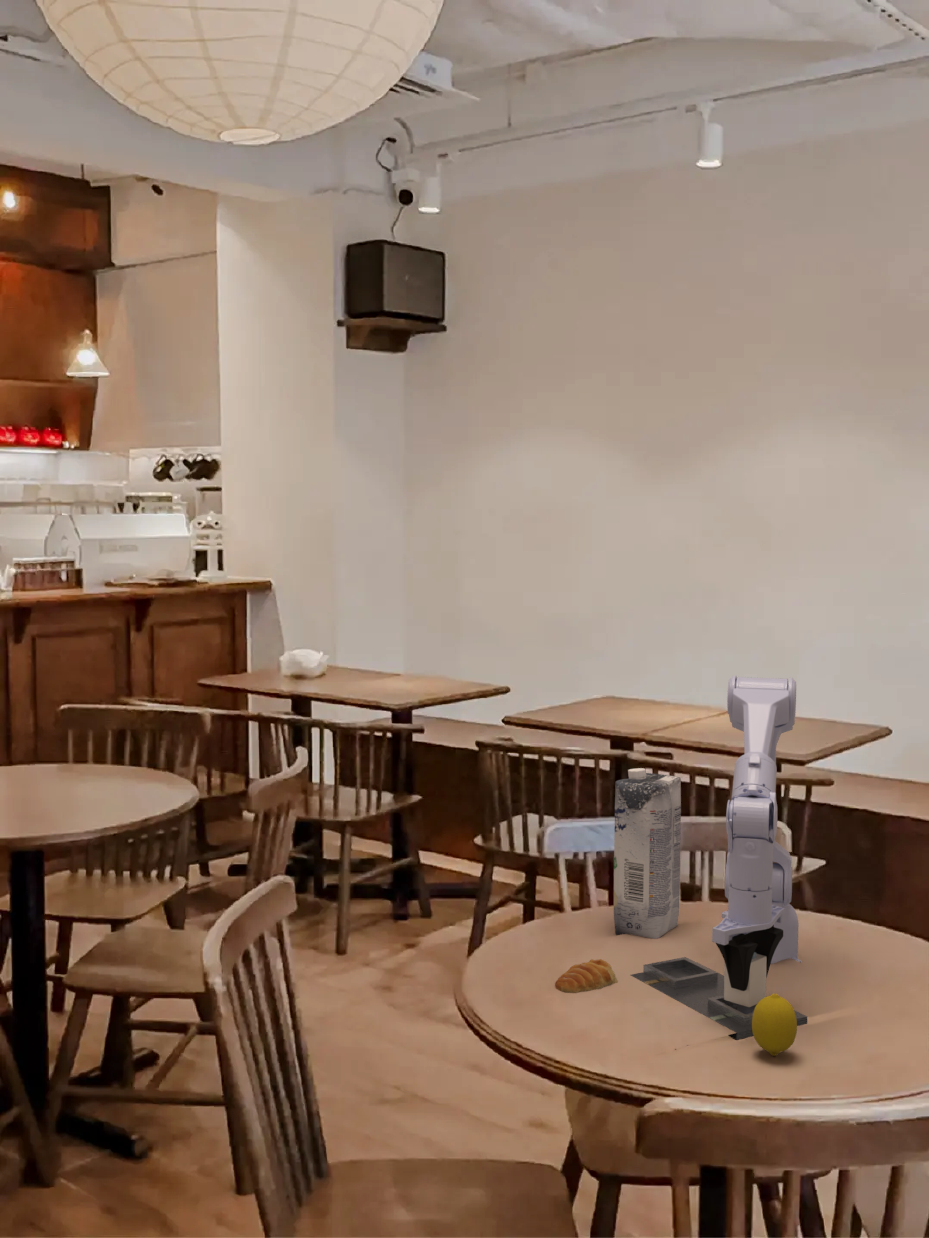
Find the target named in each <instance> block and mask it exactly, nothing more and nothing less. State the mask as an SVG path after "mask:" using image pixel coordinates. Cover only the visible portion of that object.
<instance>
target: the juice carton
mask: <svg viewBox="0 0 929 1238" xmlns="http://www.w3.org/2000/svg"><path fill="white" fill-rule="evenodd" d="M627 774H628V778H623V779H618V780H616V781H615V783H614V784H615V785H614V787H615V789H614V790H615V791H614V795H615V797H614V835H613V836H614V837H613V838H614V841H613V842H614V843H613V846H614V847H613V848H614V850H613V853H614V854H613V855H614V856H613V866H614V867H613V923H614V933H615V935H616V936H621V935H630V936H631V935H632V936H638V937H643V938H648V939H654V940H656V939H657V940H658V939H660V938H661V937H662V936H663V935H665V934H667V933H668V932H670V931H671V930H673V929H674V928H676V927H677V926H678V921H679V915H680V896H681V895H680V894H681V893H680V887H681V886H680V885H681V884H680V883H681V879H680V878H681V835H682V834H681V832H682V831H681V829H682V828H681V827H682V826H681V825H682V823H681V822H682V817H681V816H682V803H681V802H682V796H681V795H682V787H681V784H682V783H681V782H682V781H681V780H682V778H681V777H679V776H675V775H668V774H663V773H662V774H659V773H652V772H651V773H650V772H647V771H646V768H644V767H643V768H642V767H640V768H639V767H638V768H630V769H627Z"/></svg>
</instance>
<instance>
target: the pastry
mask: <svg viewBox="0 0 929 1238" xmlns="http://www.w3.org/2000/svg"><path fill="white" fill-rule="evenodd" d="M617 983H619V980H618V978H617V977H616V973H615V972H614V970H613V968H612V966H611V964H610V963H609V962H608V961H606V960H604V959H602V958H600V959H592V958H591V959H590V960H589V961H588V962H587V961H586V962H581V963H578V964H574V965H572V966H571V967H570V968H569V969H568V970H567V971H565V972H564V973H562V974H561V975H560V976H559V977H558V978H557V980H556V981H555V983H554V987H555V989H556V990H558V991H560V992H561V993H567V994H568V993H570V994H577V993H583V992H590V991H595V990H596V991H597V990H601V989H603V988H605V987H607V986H611V985H614V984H617Z"/></svg>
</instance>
